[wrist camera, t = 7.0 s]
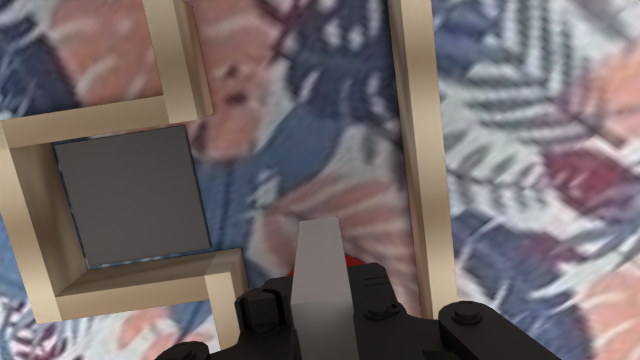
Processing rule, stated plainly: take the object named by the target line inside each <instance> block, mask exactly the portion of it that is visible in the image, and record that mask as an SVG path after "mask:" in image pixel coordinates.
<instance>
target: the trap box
mask: <svg viewBox="0 0 640 360" xmlns="http://www.w3.org/2000/svg"><path fill="white" fill-rule="evenodd" d="M142 2H143V6H144V11H145V15H146V19H147V24H148V28H149V33H150V37H151V42H152V46H153V50H154V55H155V59H156V64H157V68H158V73H159V77H160V82H161V86H162V90H163V95H162V96H155V97H149V98H142V99H136V100H130V101H123V102H117V103H110V104H104V105H97V106H91V107H84V108H78V109H72V110H65V111H59V112H52V113H46V114H39V115H33V116H26V117H20V118H14V119H7V120H1V121H0V212H1V215H2V218H3V221H4V224H5V227H6V230H7V233H8V236H9V239H10V242H11V245H12V249H13V252H14V255H15V258H16V261H17V264H18V267H19V270H20V273H21V276H22V279H23V282H24V286H25V289H26V292H27V295H28V298H29V301H30V304H31V307H32V310H33V313H34V316H35V319H36V323H37V324H43V323H50V322H57V321H64V320H71V319H78V318H84V317H91V316H98V315H105V314H112V313H119V312H126V311H133V310H140V309H147V308H154V307H161V306H167V305H174V304H181V303H188V302H195V301H202V300H209V299H210V304H211V308H212V312H213V317H214V321H215V326H216V330H217V335H218V339H219V344H220V348H221V350H224V349H226V348H229V347H231V346H233V345H235V344H237V342H238V338H239V335H240V329H239V324H238V320H237V315H236V310H235V305H234V302H235V301H236V299H237V298H238V297H239V296H241V295H242V294H244V293H245V292H248V291H250V290H249V285H248V281H247V276H246V271H245V266H244V261H243V256H242V251H241V248H235V249H228V250H222V251H215V252H208V253H201V254H194V255H188V256H181V257H174V258H167V259H160V260H154V261H147V262H140V263H133V264H126V265H120V266H113V267H106V268H99V269H92V270H88V269H87V266H86V262H85V259H84V255H83V252H82V248H81V245H80V241H79V238H78V234H77V231H76V227H75V224H74V221H73V217H72V214H71V210H70V207H69V203H68V200H67V196H66V193H65V189H64V186H63V182H62V179H61V175H60V172H59V168H58V165H57V161H56V158H55V154H54V151H53V147H52V144H51V142H55V141H61V140H68V139H74V138H81V137H87V136H94V135H100V134H107V133H113V132H120V131H126V130H133V129H139V128H146V127H152V126H159V125H165V124H172V123H178V122H185V121H192V120H198V119H201V118H204V117H207V116H210V115H213V114H214V113H213V108H212V103H211V98H210V93H209V88H208V83H207V78H206V73H205V68H204V63H203V58H202V53H201V48H200V43H199V38H198V33H197V29H196V24H195V19H194V14H193V9H192V7H191V6H190V5H188V4H187V3H185V2H183V1H182V0H142ZM387 3H388V12H389V21H390V30H391V40H392V49H393V58H394V67H395V76H396V85H397V94H398V103H399V112H400V121H401V130H402V140H403V149H404V158H405V167H406V176H407V185H408V194H409V203H410V212H411V221H412V231H413V240H414V249H415V258H416V267H417V276H418V285H419V294H420V303H421V312H422V318H424V319H438V313H439V310H440V309H441V308H443V307H444V306H446V305H448V304H450V303H453V302H458V298H457V287H456V276H455V264H454V253H453V242H452V231H451V220H450V209H449V197H448V186H447V175H446V164H445V153H444V141H443V130H442V119H441V108H440V97H439V85H438V74H437V63H436V52H435V41H434V29H433V18H432V7H431V0H387Z"/></svg>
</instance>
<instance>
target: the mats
mask: <svg viewBox="0 0 640 360" xmlns="http://www.w3.org/2000/svg"><path fill="white" fill-rule="evenodd" d="M54 146H55V149H56V153H57V156H58V160H59V163H60V167H61V170H62V174H63V177H64V181H65V184H66V188H67V191H68V195H69V198H70V202H71V205H72V209H73V212H74V216H75V219H76V223H77V226H78V230H79V233H80V237H81V240H82V244H83V247H84V251H85V254H86V258H87V261H88V265H89V266H95V265H102V264H109V263H116V262H123V261H129V260H136V259H143V258H150V257H157V256H163V255H170V254H177V253H184V252H191V251H197V250H204V249H210V248H211V242H210V237H209V233H208V228H207V224H206V219H205V214H204V210H203V205H202V201H201V196H200V191H199V187H198V182H197V178H196V173H195V168H194V164H193V159H192V155H191V150H190V145H189V141H188V136H187V132H186V127H185V125H182V126H176V127H169V128H163V129H156V130H150V131H143V132H137V133H130V134H124V135H117V136H110V137H104V138H97V139H91V140H84V141H78V142H71V143H65V144H58V145H54Z"/></svg>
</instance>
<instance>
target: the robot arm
mask: <svg viewBox="0 0 640 360" xmlns="http://www.w3.org/2000/svg"><path fill="white" fill-rule="evenodd" d="M234 305H235V310H236V315H237V320H238V324H239V329H240V335H239V338H238V342H237V344H235V345H233V346H231V347H229V348H226V349H224V350H221V351H218V352H215V353H212V354H210V353H209V349H208V346H207V345H206V344H205V343H203V342H198V341H191V342H182V343H180V344H176V345H174V346H172V347H171V348H169V349H167V350H165V351H164V352H162V353H161V354H160V355H159V356H158V357H157V358H156V359H155V360H561V359H560V358H558V357H557V356H556V355H554V354H553V353H552V352H550V351H549V350H548V349H546V348H545V347H543V346H542V345H541V344H539V343H538V342H537V341H535V340H534V339H533V338H531V337H530V336H529V335H527V334H526V333H525V332H523V331H522V330H521V329H519V328H518V327H516V326H515V325H514V324H512V323H511V322H510V321H508V320H507V319H506V318H504V317H503V316H502V315H500V314H499V313H498V312H496V311H495V310H494V309H492V308H490V307H488V306H487V305H485V304H482V303H478V302H474V301H459V302H453V303H450V304H448V305H446V306H444V307H443V308H441V309H440V310H439V313H438V319H424V318H417V317H414V316H411V315H409V314H407V312H406V309H405V308H404V306H403V305H402V304H401V303H399V302H398V301H397V299H396V296H395V293H394V291H393V288H392V285H391V283H390V280H389V278H388V275H387V272H386V270H385V268H384V267H383V266H381V265H379V264H378V263H376V262H375V263H368V264H361V265H354V266H347V267H346V261H345V255H344V250H343V244H342V238H341V232H340V226H339V221H338V216H333V217H326V218H320V219H313V220H306V221H299V230H298V239H297V249H296V258H295V267H294V276H287V277H280V278H273V279H269V280H268V281H267V282H266V283H265V284H264V285H263V286H262V287H261V288H256V289H253V290H250V291H248V292H245V293H244V294H242V295H241V296H239V297H238V298H237V299H236V301H235V302H234Z"/></svg>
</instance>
